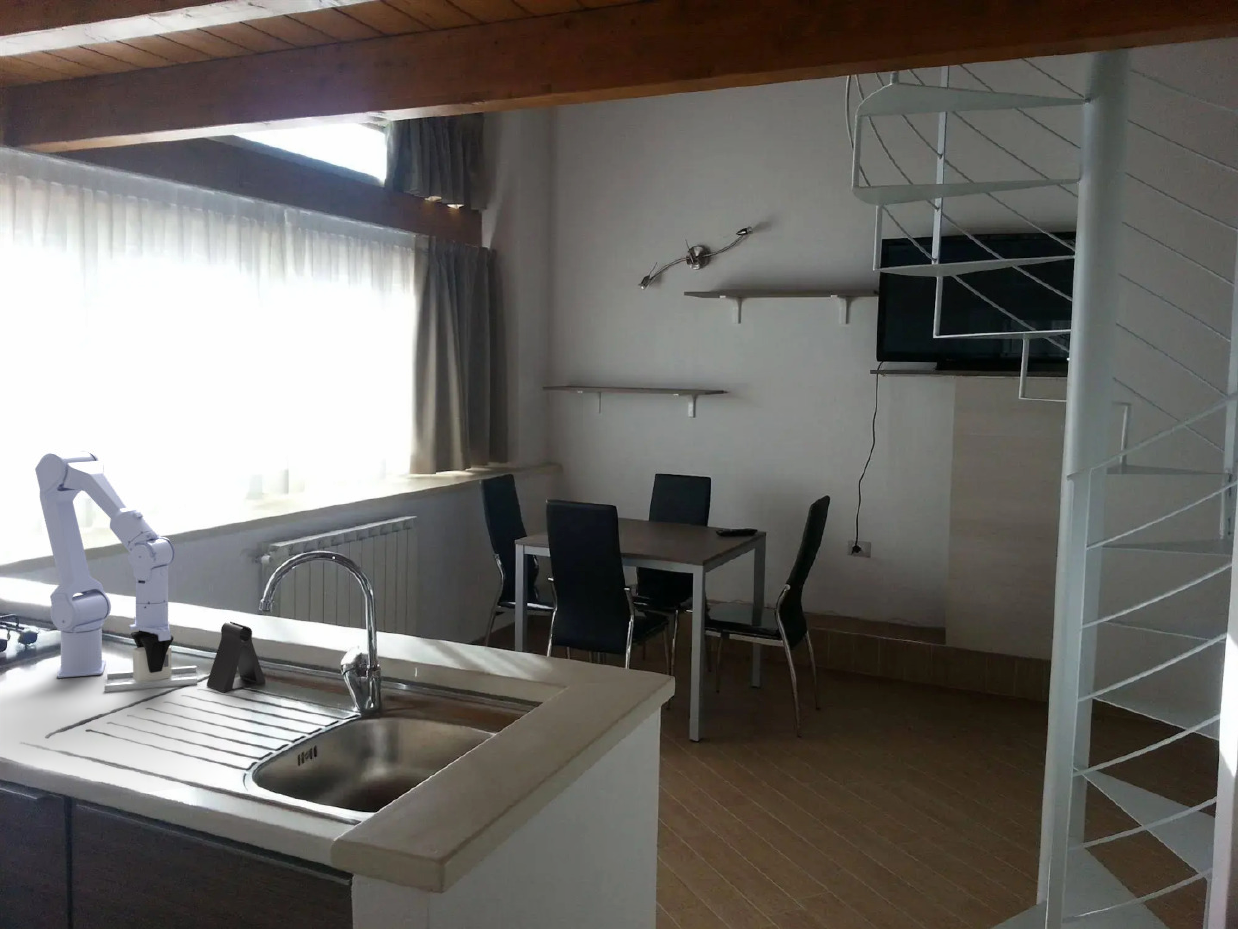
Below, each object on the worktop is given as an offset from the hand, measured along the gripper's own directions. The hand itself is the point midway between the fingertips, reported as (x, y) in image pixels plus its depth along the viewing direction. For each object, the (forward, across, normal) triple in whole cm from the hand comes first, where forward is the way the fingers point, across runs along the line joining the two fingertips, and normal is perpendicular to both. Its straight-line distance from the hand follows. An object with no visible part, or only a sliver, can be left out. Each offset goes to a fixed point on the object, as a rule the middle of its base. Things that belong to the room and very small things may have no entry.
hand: (152, 669), depth 191 cm
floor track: (+2, 0, 0) cm, 2 cm away
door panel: (+2, 0, 0) cm, 2 cm away
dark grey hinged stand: (+3, +12, +12) cm, 17 cm away
